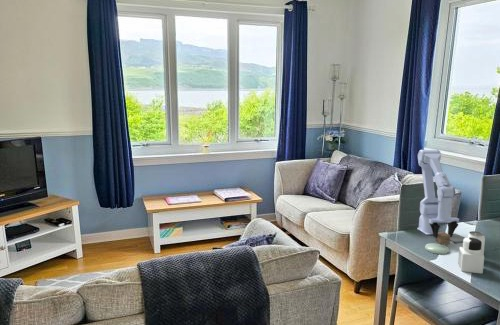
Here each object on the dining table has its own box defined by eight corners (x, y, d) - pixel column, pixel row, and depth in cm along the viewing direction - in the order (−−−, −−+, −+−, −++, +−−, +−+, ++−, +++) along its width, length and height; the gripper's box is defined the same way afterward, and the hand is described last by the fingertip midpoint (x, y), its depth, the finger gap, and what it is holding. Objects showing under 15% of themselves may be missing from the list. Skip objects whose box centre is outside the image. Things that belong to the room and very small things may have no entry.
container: (478, 265, 158) (481, 236, 156) (482, 274, 151) (485, 243, 148) (457, 263, 160) (460, 235, 158) (461, 271, 153) (464, 241, 151)
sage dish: (420, 246, 179) (420, 243, 179) (440, 245, 180) (440, 242, 180) (433, 254, 169) (433, 252, 169) (453, 253, 170) (453, 251, 170)
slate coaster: (441, 236, 190) (441, 235, 190) (455, 234, 193) (455, 233, 193) (455, 243, 182) (455, 241, 182) (469, 241, 184) (470, 239, 184)
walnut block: (435, 241, 185) (435, 232, 185) (443, 240, 186) (444, 232, 185) (440, 244, 181) (441, 235, 180) (449, 244, 182) (450, 235, 181)
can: (462, 256, 167) (464, 231, 165) (476, 255, 168) (478, 230, 165) (472, 262, 161) (474, 236, 159) (486, 262, 161) (489, 235, 159)
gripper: (435, 213, 176) (433, 240, 178) (464, 211, 177) (461, 238, 180) (427, 209, 183) (425, 235, 185) (454, 207, 184) (452, 233, 187)
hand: (442, 236), depth 183 cm, fingers open, 7 cm apart
